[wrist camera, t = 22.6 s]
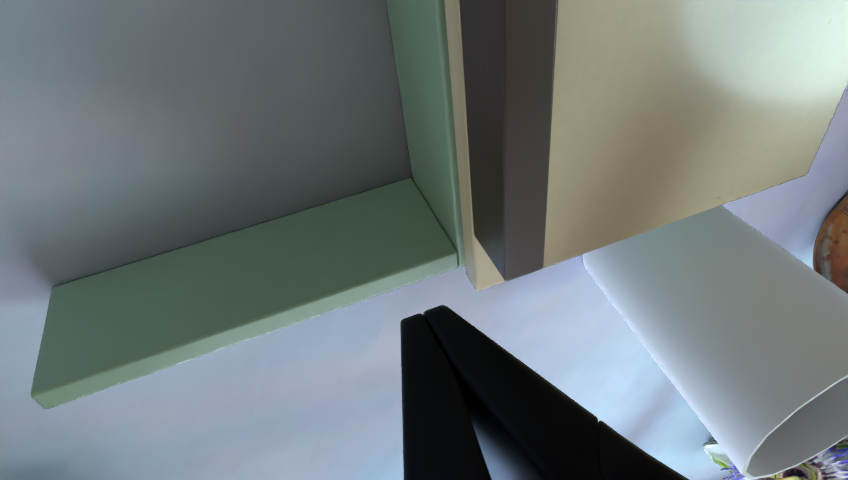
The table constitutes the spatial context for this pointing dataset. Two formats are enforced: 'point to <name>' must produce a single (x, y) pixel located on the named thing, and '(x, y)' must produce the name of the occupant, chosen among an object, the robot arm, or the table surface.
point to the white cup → (737, 334)
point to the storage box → (274, 252)
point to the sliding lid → (628, 115)
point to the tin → (833, 247)
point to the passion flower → (819, 476)
